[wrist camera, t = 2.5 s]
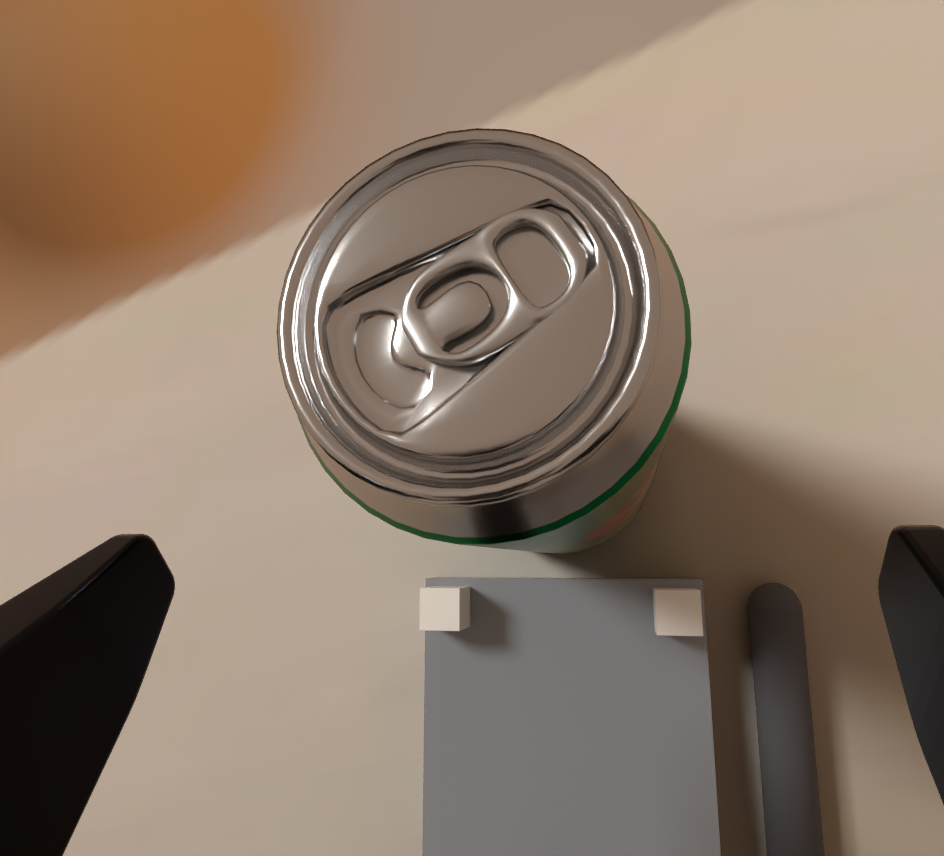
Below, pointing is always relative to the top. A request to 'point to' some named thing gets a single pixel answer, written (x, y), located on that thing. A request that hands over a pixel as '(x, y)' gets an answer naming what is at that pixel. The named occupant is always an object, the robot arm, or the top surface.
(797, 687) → the dark grey rod
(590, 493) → the soda can
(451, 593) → the switch plate
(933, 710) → the robot arm
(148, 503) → the top surface
